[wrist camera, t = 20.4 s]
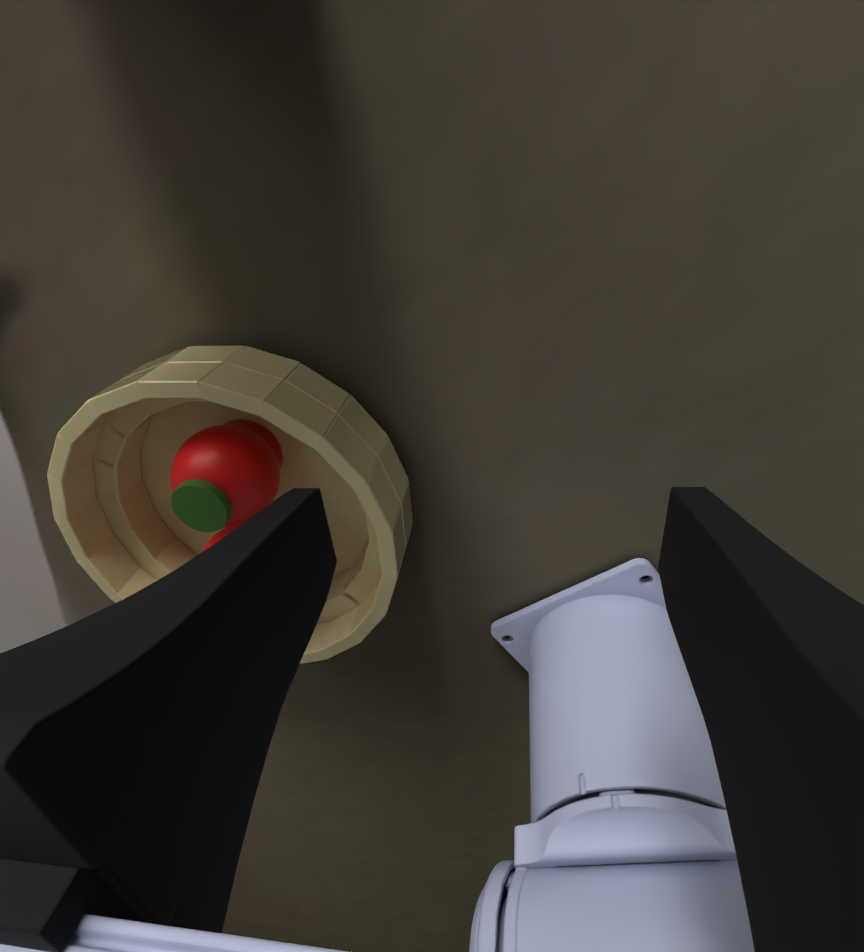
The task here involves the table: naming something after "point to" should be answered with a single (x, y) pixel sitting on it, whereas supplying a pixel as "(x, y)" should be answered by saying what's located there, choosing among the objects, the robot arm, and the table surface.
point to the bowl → (303, 466)
